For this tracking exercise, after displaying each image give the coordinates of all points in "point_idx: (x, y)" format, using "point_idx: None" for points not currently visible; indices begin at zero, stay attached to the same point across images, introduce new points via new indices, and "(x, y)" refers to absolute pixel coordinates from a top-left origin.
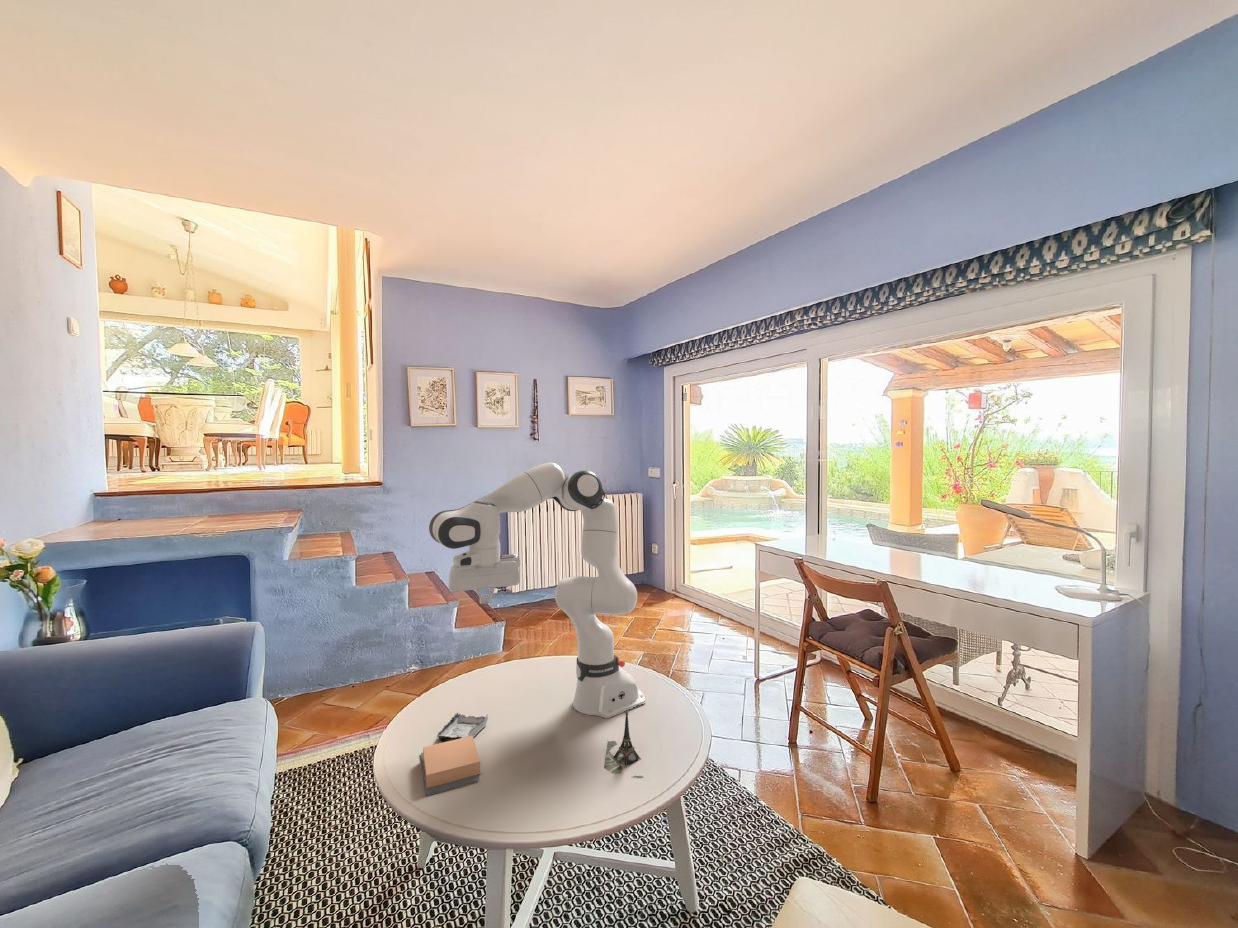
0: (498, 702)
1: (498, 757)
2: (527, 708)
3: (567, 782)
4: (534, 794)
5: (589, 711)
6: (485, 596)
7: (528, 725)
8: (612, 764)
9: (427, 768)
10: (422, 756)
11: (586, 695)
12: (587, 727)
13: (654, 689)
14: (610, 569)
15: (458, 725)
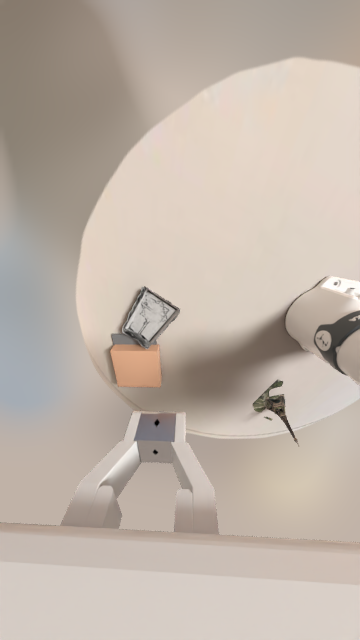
0: (204, 257)
1: (179, 363)
2: (234, 291)
3: (220, 406)
4: (195, 407)
5: (294, 338)
6: (159, 444)
7: (221, 327)
8: (260, 403)
9: (117, 379)
10: (113, 340)
11: (304, 341)
12: (274, 355)
13: None
14: None
15: (147, 296)
